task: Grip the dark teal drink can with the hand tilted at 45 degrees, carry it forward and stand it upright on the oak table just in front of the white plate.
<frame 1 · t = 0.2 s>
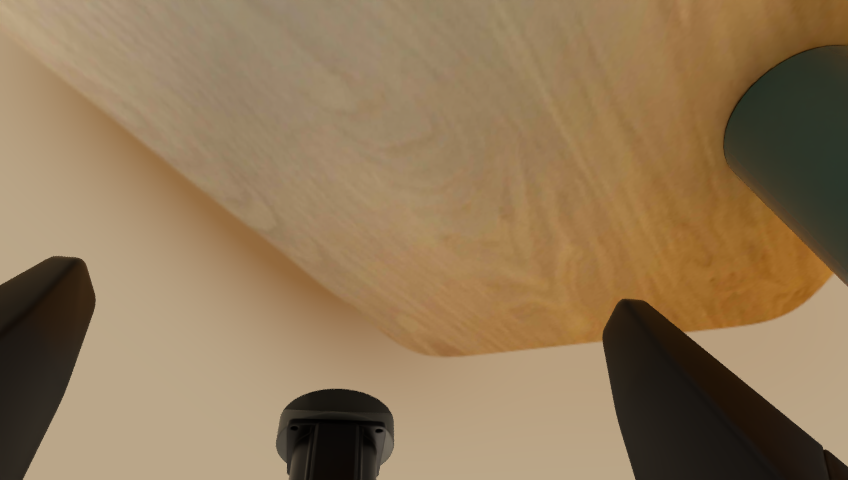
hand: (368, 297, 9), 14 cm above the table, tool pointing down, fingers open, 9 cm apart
can: (800, 120, 24), on the table
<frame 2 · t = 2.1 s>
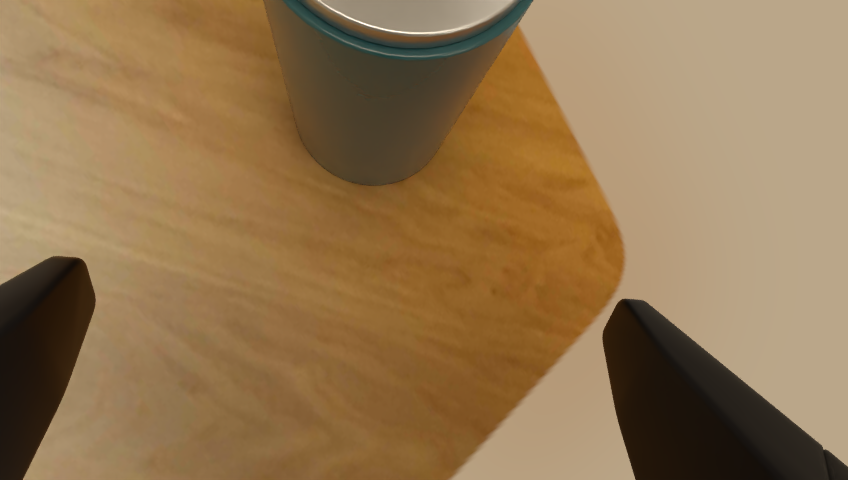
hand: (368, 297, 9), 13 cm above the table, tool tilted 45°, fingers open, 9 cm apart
can: (372, 111, 23), on the table
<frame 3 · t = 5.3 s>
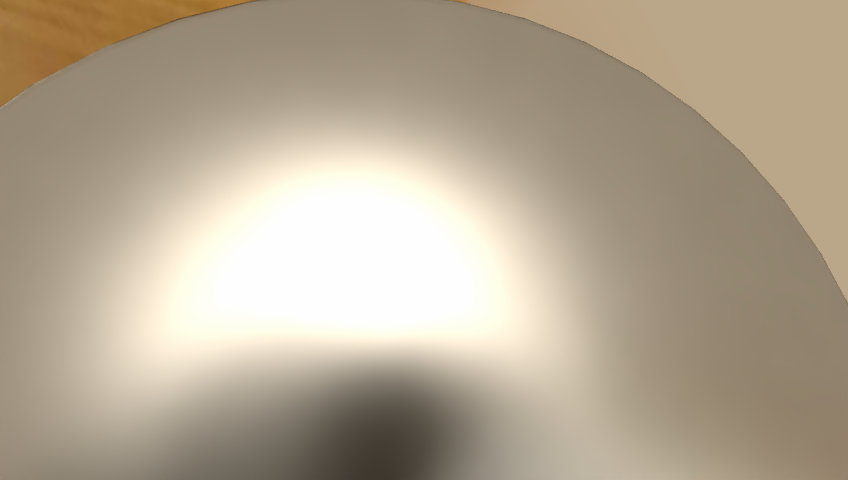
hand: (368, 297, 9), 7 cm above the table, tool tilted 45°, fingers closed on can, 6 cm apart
can: (352, 348, 16), on the table, touching gripper
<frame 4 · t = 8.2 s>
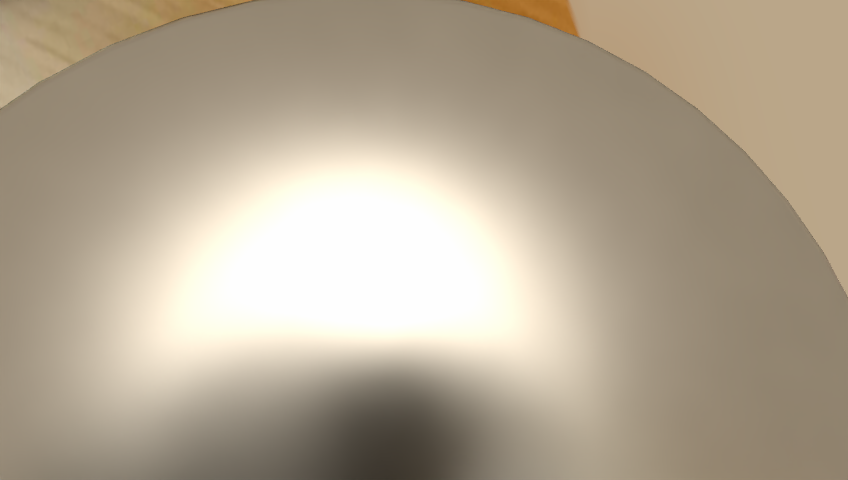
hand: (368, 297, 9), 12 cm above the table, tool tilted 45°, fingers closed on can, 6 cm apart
can: (352, 347, 16), point 6 cm above the table, touching gripper
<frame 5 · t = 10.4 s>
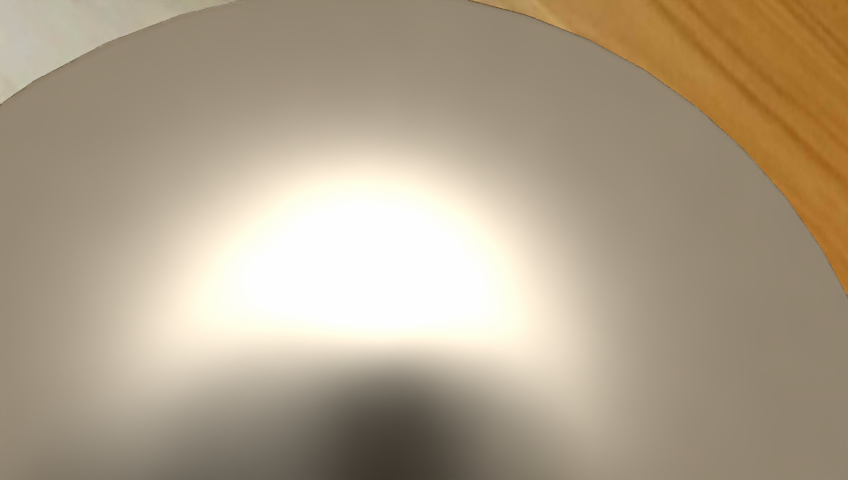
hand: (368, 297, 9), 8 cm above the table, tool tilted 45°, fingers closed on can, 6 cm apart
can: (352, 347, 16), point 2 cm above the table, touching gripper
when the fingers open (7 cm above the table, at t = 11.6 s): can stays where it is, on the table.
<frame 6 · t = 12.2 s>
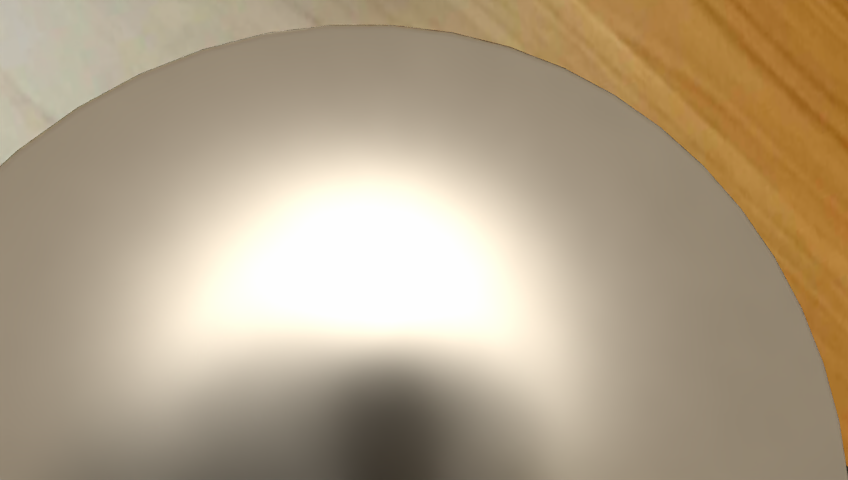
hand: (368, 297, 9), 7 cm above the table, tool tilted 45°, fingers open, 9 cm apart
can: (352, 346, 16), on the table
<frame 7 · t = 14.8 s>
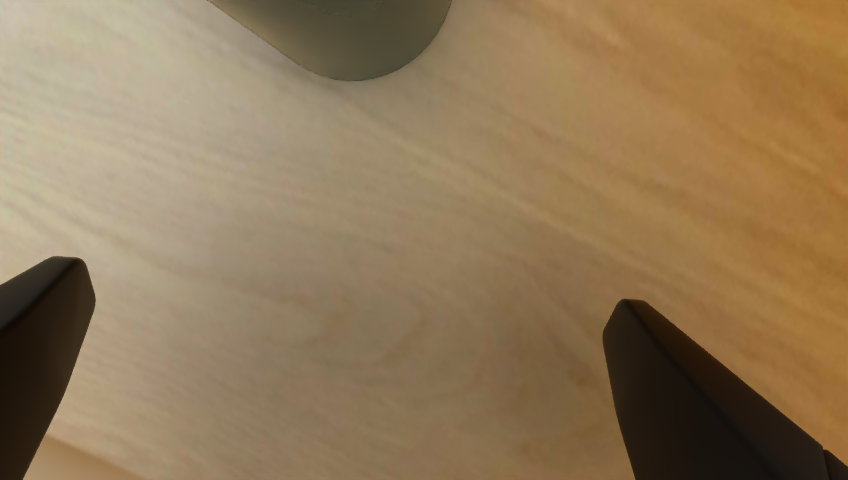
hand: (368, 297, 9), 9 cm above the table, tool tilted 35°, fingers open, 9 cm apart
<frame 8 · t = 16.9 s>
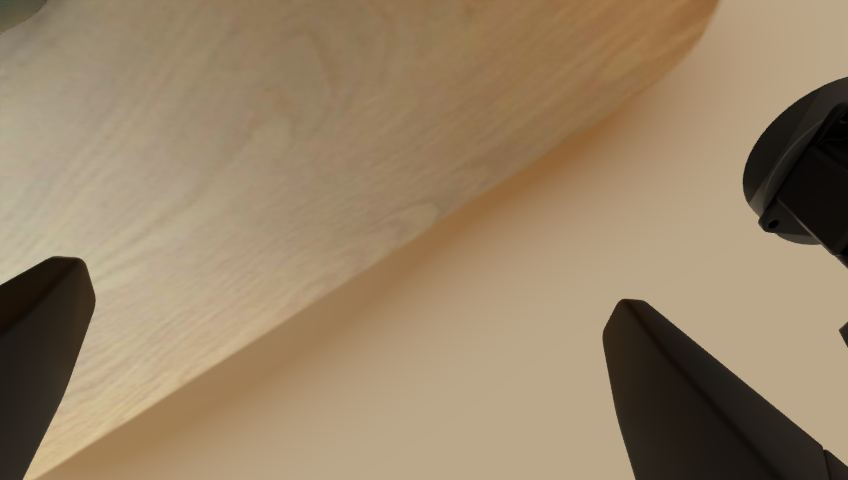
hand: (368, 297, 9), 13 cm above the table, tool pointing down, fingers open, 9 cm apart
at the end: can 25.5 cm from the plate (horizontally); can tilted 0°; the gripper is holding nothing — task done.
